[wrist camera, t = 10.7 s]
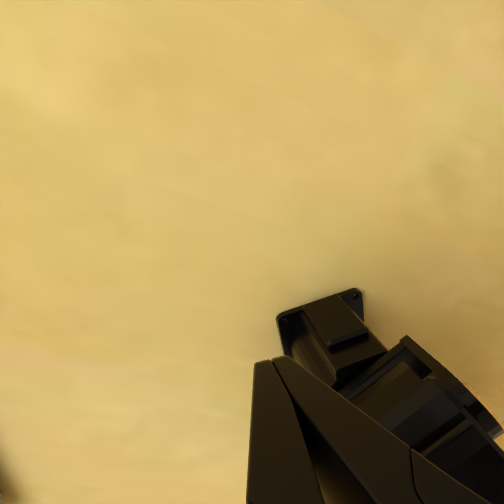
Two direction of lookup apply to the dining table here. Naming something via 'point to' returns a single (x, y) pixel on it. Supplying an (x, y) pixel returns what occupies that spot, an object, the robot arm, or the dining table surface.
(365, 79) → the dining table surface
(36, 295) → the dining table surface
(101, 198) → the dining table surface
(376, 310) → the dining table surface
